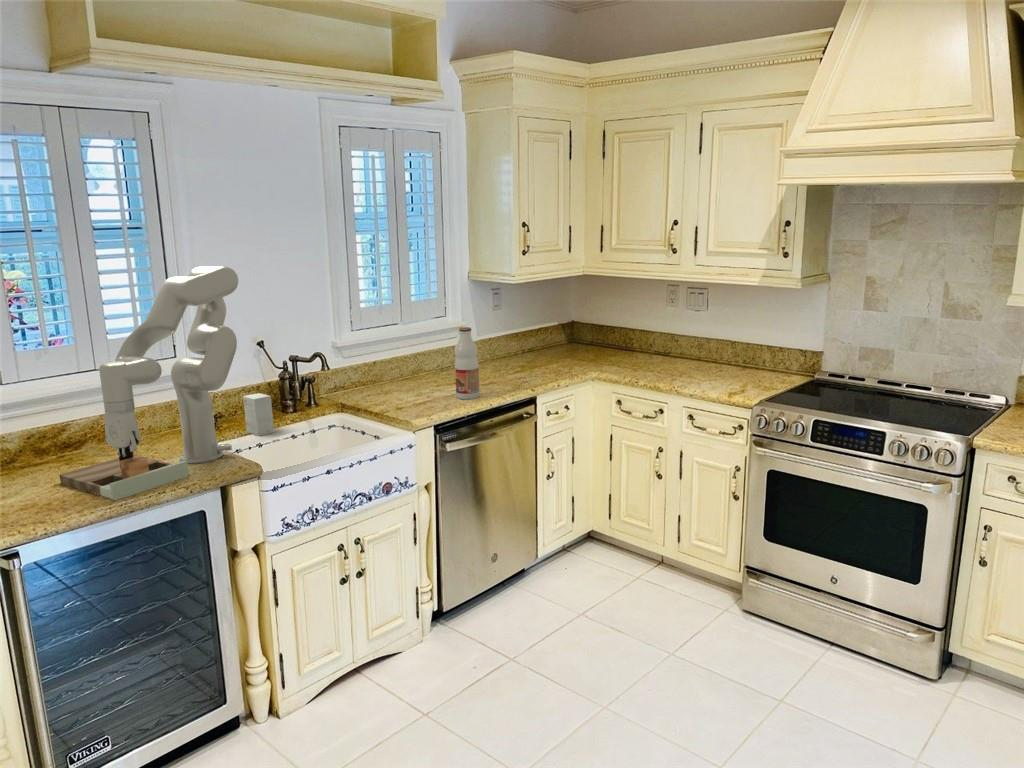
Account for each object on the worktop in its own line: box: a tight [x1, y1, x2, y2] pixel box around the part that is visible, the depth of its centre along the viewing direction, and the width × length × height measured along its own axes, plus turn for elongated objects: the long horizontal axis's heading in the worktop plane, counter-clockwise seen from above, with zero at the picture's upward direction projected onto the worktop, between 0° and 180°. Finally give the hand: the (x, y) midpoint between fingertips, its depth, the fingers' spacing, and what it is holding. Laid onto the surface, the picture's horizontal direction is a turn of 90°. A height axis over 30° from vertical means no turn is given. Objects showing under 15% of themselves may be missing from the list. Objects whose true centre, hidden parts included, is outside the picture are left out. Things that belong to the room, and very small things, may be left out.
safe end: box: [100, 461, 190, 501], centre depth 214 cm, size 7×22×4 cm, turn 147°
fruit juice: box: [454, 326, 480, 400], centre depth 306 cm, size 9×9×28 cm
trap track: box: [59, 454, 172, 496], centre depth 222 cm, size 21×22×2 cm
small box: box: [242, 392, 275, 437], centre depth 265 cm, size 8×6×13 cm
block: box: [120, 455, 149, 479], centre depth 214 cm, size 5×5×5 cm
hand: (127, 468), depth 218 cm, fingers closed
